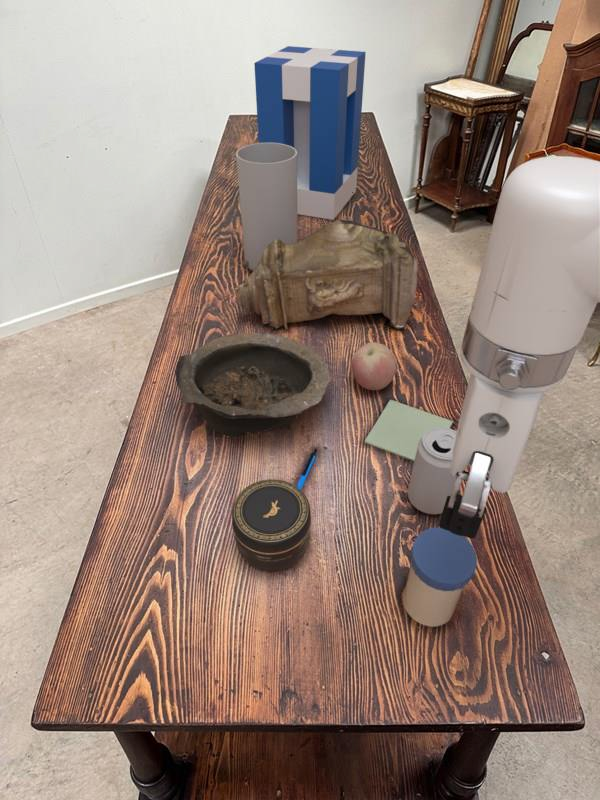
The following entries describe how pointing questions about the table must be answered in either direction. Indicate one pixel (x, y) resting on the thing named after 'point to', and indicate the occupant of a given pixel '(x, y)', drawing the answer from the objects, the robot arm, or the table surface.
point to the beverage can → (432, 471)
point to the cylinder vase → (267, 197)
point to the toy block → (314, 120)
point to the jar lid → (443, 559)
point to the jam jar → (428, 602)
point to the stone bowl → (251, 382)
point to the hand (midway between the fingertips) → (466, 490)
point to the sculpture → (332, 277)
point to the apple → (373, 366)
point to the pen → (306, 470)
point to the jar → (271, 524)
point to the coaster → (403, 429)
